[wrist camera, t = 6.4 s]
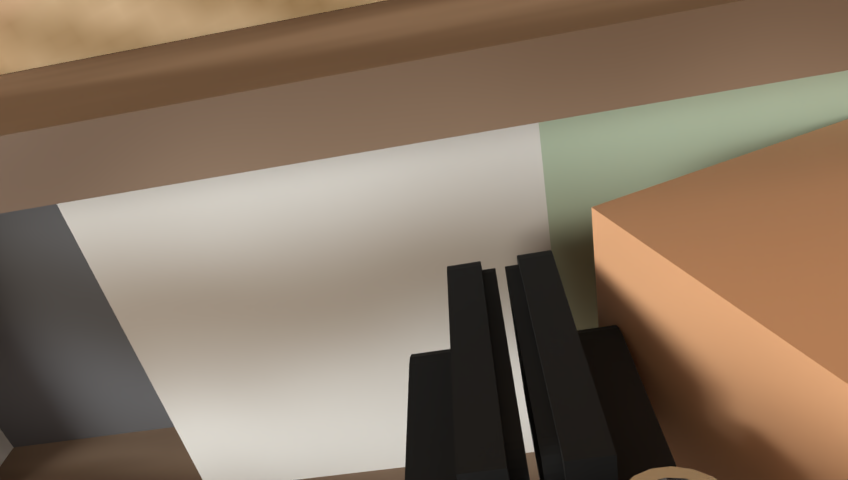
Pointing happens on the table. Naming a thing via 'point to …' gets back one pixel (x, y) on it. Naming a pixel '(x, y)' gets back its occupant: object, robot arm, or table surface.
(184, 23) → the table surface
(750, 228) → the block
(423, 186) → the trap box
